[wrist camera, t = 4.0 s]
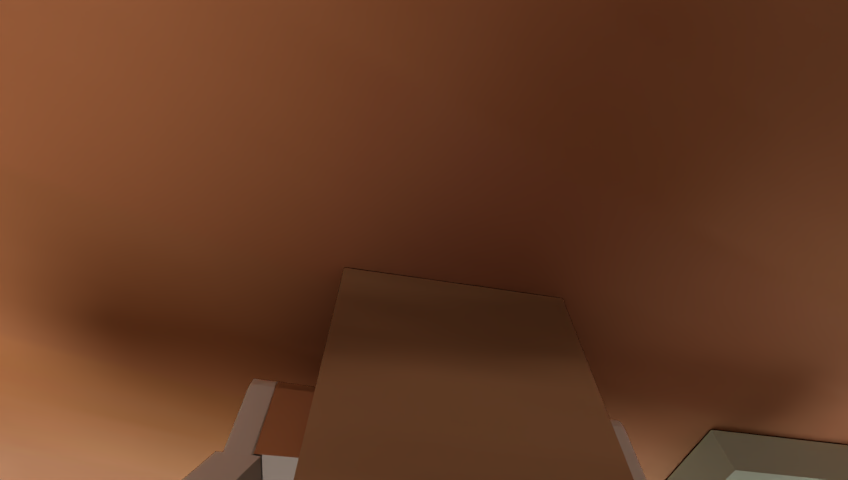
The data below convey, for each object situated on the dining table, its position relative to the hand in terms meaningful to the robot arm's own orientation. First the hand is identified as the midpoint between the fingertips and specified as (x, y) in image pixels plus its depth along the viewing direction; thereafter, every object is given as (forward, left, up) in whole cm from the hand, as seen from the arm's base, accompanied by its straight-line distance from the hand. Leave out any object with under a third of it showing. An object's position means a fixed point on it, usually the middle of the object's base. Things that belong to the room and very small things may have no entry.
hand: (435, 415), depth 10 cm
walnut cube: (0, 0, -2) cm, 2 cm away
